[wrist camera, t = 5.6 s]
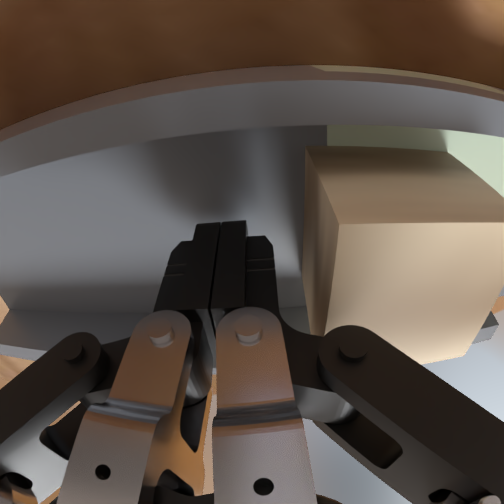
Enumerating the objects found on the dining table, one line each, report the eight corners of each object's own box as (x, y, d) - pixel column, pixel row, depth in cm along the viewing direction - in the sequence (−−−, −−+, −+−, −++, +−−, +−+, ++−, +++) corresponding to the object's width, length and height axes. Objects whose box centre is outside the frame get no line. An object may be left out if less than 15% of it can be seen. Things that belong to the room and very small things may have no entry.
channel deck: (-24, 141, 11) (-95, 191, 7) (575, 114, 9) (640, 155, 5) (38, 287, 17) (0, 354, 13) (537, 254, 15) (579, 310, 11)
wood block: (305, 145, 9) (338, 224, 6) (447, 152, 9) (529, 223, 5) (301, 275, 12) (316, 377, 9) (420, 268, 12) (463, 355, 8)
